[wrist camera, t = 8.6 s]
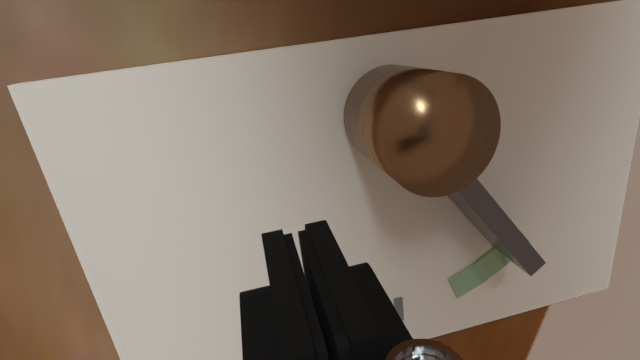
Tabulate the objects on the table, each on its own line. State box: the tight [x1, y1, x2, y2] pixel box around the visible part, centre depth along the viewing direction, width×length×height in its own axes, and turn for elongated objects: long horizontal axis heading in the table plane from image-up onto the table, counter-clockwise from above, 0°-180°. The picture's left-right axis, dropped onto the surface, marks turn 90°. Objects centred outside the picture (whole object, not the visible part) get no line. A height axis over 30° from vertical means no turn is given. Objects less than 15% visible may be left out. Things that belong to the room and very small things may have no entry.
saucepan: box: [343, 64, 546, 276], centre depth 17 cm, size 13×4×5 cm, turn 44°
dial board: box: [7, 0, 640, 360], centre depth 21 cm, size 18×30×1 cm, turn 97°
